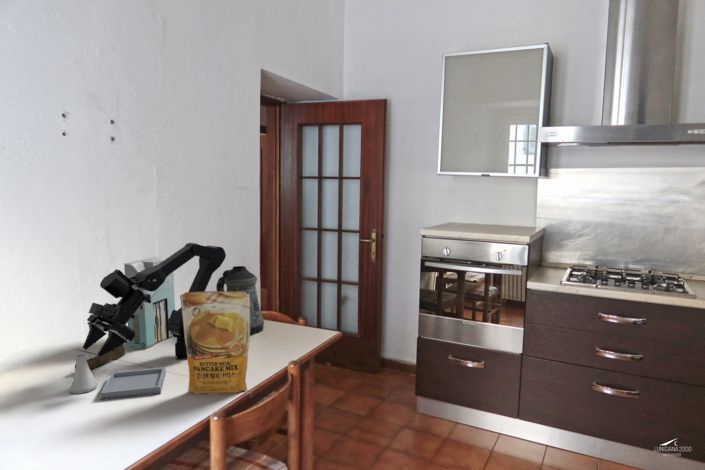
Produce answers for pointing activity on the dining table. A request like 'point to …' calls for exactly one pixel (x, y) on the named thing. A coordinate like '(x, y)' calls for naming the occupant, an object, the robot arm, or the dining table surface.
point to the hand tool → (106, 357)
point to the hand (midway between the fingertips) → (91, 352)
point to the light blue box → (151, 307)
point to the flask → (82, 376)
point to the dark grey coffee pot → (246, 282)
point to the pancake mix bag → (217, 340)
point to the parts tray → (134, 383)
